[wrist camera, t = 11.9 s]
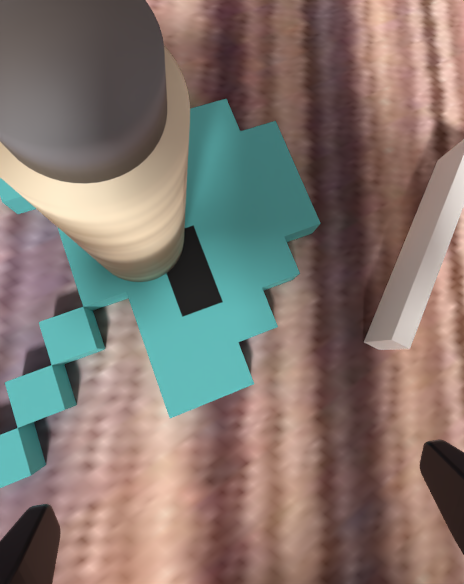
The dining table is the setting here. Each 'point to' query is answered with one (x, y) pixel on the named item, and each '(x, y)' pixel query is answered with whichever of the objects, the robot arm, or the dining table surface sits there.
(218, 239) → the alien figure
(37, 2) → the pepper mill
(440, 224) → the u-shaped frame
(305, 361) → the dining table surface
